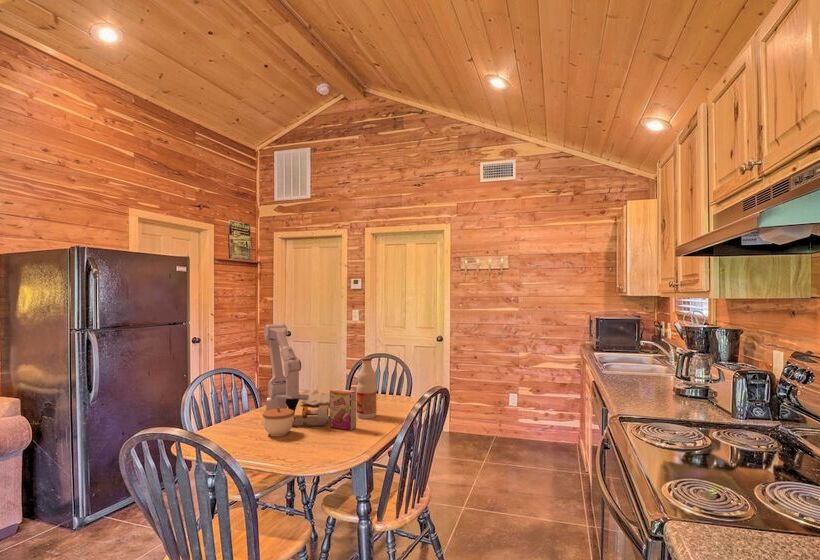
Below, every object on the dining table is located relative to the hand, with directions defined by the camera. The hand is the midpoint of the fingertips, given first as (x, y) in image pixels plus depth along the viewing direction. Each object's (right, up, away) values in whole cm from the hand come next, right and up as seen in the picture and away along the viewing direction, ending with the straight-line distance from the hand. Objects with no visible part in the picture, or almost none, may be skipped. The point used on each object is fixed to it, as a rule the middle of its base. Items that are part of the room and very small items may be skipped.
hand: (292, 415), depth 212 cm
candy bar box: (+24, -3, -8) cm, 26 cm away
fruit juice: (+33, -4, +10) cm, 35 cm away
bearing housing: (+9, -3, 0) cm, 9 cm away
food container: (+9, -4, +31) cm, 33 cm away
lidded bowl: (-2, -3, -16) cm, 16 cm away
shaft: (+9, -1, 0) cm, 10 cm away
